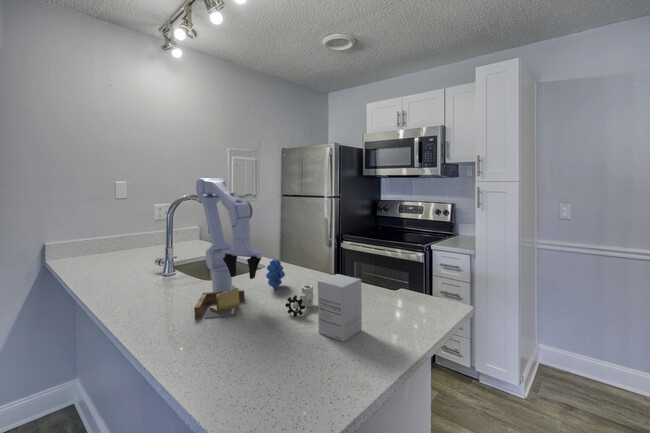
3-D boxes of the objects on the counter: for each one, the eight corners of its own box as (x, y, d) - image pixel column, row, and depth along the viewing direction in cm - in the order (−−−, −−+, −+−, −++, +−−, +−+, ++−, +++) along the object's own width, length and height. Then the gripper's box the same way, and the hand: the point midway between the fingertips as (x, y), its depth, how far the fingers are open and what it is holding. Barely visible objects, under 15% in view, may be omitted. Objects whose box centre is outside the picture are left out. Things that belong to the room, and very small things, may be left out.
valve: (301, 302, 114) (285, 315, 103) (301, 283, 114) (284, 295, 102) (319, 304, 112) (304, 318, 101) (318, 285, 111) (304, 297, 100)
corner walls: (203, 302, 115) (203, 292, 114) (244, 299, 117) (244, 290, 117) (194, 318, 101) (194, 307, 101) (241, 315, 103) (241, 304, 103)
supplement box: (337, 322, 98) (336, 273, 96) (362, 330, 92) (362, 278, 91) (317, 333, 91) (316, 280, 89) (343, 342, 85) (343, 287, 84)
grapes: (278, 294, 122) (278, 262, 121) (262, 292, 124) (261, 261, 123) (291, 284, 133) (290, 255, 132) (276, 283, 135) (275, 254, 134)
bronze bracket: (219, 313, 104) (217, 295, 103) (209, 310, 107) (208, 292, 106) (239, 305, 110) (238, 288, 110) (230, 302, 113) (229, 285, 113)
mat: (210, 305, 112) (210, 304, 112) (237, 303, 113) (237, 302, 113) (204, 318, 101) (204, 317, 101) (234, 316, 102) (234, 315, 102)
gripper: (266, 237, 112) (267, 275, 113) (230, 235, 117) (231, 272, 118) (255, 240, 105) (256, 281, 107) (217, 238, 110) (219, 277, 112)
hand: (242, 277), depth 112 cm, fingers open, 7 cm apart
